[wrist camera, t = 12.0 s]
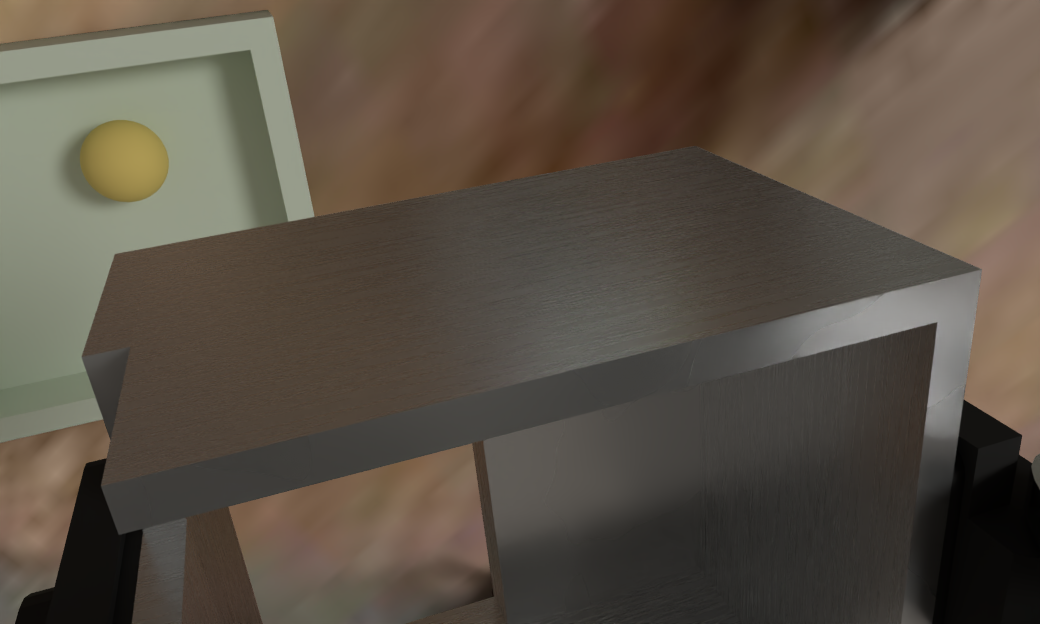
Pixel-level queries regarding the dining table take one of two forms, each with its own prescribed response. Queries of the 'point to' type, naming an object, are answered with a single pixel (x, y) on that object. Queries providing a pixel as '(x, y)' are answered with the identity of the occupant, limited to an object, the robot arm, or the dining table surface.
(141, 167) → the ball
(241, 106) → the tray
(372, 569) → the dining table surface
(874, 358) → the open shelf cabinet
